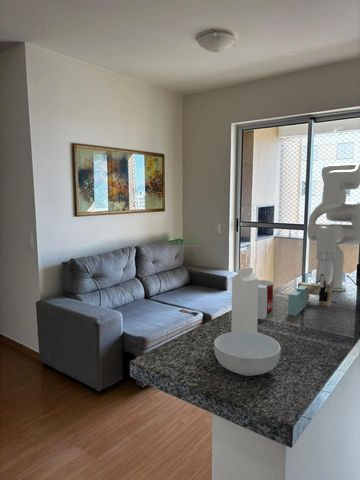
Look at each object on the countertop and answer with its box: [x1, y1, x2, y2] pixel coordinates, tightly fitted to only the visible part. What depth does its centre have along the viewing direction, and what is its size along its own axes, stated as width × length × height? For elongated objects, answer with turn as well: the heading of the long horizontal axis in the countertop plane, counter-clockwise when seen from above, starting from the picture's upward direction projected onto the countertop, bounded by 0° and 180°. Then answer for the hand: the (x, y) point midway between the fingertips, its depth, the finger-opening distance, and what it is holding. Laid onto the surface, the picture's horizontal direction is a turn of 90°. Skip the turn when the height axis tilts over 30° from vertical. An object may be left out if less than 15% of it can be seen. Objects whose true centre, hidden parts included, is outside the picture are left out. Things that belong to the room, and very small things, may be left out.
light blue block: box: [287, 286, 308, 317], centre depth 141 cm, size 16×3×8 cm, turn 146°
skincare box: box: [258, 285, 268, 320], centre depth 132 cm, size 6×4×12 cm
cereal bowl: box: [213, 331, 282, 377], centre depth 92 cm, size 17×17×7 cm
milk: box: [230, 267, 259, 333], centre depth 114 cm, size 6×6×22 cm
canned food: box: [258, 279, 274, 313], centre depth 141 cm, size 8×8×11 cm
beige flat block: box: [297, 281, 333, 307], centre depth 150 cm, size 13×3×8 cm, turn 56°
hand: (324, 299), depth 147 cm, fingers closed on beige flat block, 3 cm apart
